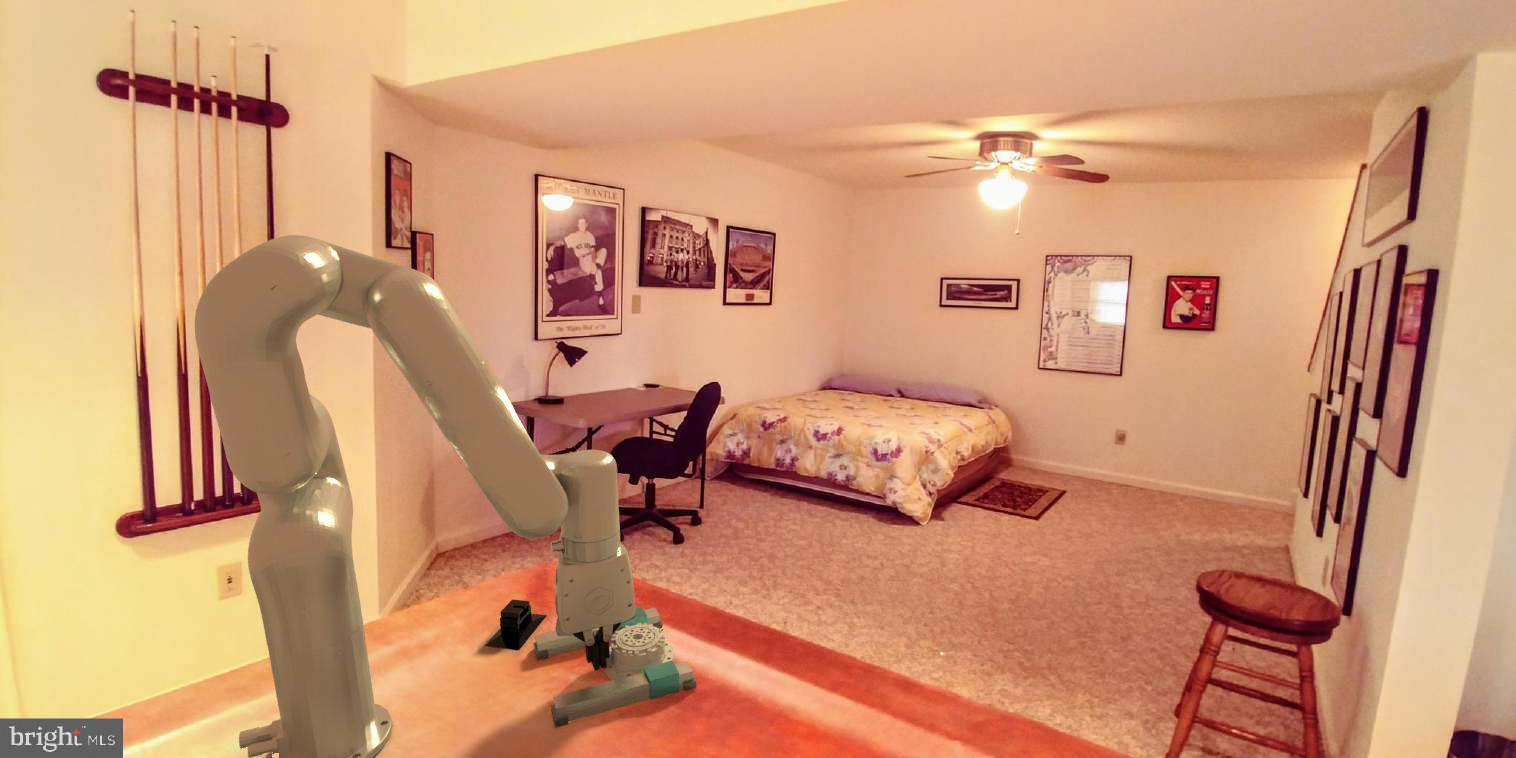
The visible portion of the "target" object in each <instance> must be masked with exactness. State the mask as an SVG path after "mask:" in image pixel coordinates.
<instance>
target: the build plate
mask: <svg viewBox="0 0 1516 758" xmlns="http://www.w3.org/2000/svg"><path fill="white" fill-rule="evenodd" d="M547 616H548V615H547V614H541V613H540V614H537V613H532V605H531V603H530V600H523V599H522V600H521V599H511V600H510V601H509V602H508V603H507V604H506V605H505V606H504V608H503V609H502V610H501V611H500V618H499V623H500V624H499V625H500V626H499V627H500V628H499V629H498V630H497V631H496V632H495V634H493V636H492V637H490V639H489V640H488V641H487V642H486V643H485V644H484V647H487V648H495V649H496V648H497V649H503V650H512V651H520V650H521V649H522V647H523V646H524V645H525V644H526V642H528V640H529V639H530V638H531V636H532V635H533V633H535V631H536V630H537V629H538V628H539V627H540V625H541V623H543V621H544V620H545V619H546V618H547Z"/></svg>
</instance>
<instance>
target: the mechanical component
mask: <svg viewBox="0 0 1516 758" xmlns="http://www.w3.org/2000/svg"><path fill="white" fill-rule="evenodd" d="M612 636H613V638H612V639H611V641H610V645H609V651H610V658H607V659H606V668H604V669H603V671H604V674H605V675H606V676H607V677H608V678H609V679H611V681H614V680H618V679H622V678H626V677H629V676H633V675H637V674H641V673H644V668H646V667H650V666H654V665H658V664H661V663H665V662H669V661H673V663H674V664H675V652H674V647H673V646H672V645H671V643H670V642H668V641H667V640H666V636H665V634H664V632H663V630H662V629H661V628H659V629H658V628H657V627H654V626H653V624H649V625H647V623H644V624H643V625H642V624H641V623H637V625H633V626H628V625H626V626H625V628H623V629H621V630H620V631H616V632H615V634H613V635H612Z"/></svg>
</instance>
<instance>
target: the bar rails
mask: <svg viewBox="0 0 1516 758" xmlns="http://www.w3.org/2000/svg"><path fill="white" fill-rule="evenodd" d="M660 618H661V617H660V613H659V611H658V610H657V608H656V607H651V608H646V609H644V608H643V606H638V607H635V618H634V619H632V620H630V621H628V622H626V623H622V624H621V625H620V626H619V627H618V628H617V630H616V631H620V630H621V629H623V628H625V626H626V625H628V626H633V625H637V623H641V624H642V625H643V624H644V623H647V625H649V624H653V626H654V627H657V628H658V629H659V628H662V627H663V628H664V626H663V622H662V620H661V619H660ZM598 630H599V628H595V629H592V632H593V633H594V635H595V634H596V632H597V631H598ZM616 631H615V632H616ZM615 632H614V633H613V634H615ZM613 634H612V635H613ZM534 637H535V642H533V644H532V645H533V651H534V654H535V658H536V661H537V662H540V661H543V660H547V659H549V658H550V657H552V656H556V655H561V654H564V653H570V652H573V651H576V650H577V651H578V650H580V649H585V642H583V641H582V640H580V639H578V638H577V637H575V636H574V635H572V636H558V635H557V633H556V630H553V631H548V632H544V633H543V632H542V633H539V634H535V636H534ZM612 638H613V636H612ZM612 638H611V639H612ZM609 643H611V640H610V641H609ZM696 688H697V680H696V679H695V677H694V671H693V669H692V667H691V666H690V664H689V662H688V661H687V660H685V661H683V662H678V663H675V662H674V663H673V661H669V662H665V663H661V664H658V665H654V666H650V667H646V668H644V673H641V674H637V675H633V676H629V677H626V678H622V679H618V680H611V681H607V682H604V683H599V684H596V685H592V686H588V687H585V688H581V689H578V690H574V691H571V692H566V693H563V694H559V695H555V696H553V697H552V704H550V712H551V717H552V720H553V721H552V722H553V724H554V728H555V729H556V728H559V727H563V726H567V725H569V723H570V722H574V721H576V720H580V719H583V718H588V717H591V716H594V715H598V714H602V713H605V712H608V711H611V710H615V709H620V708H624V707H626V706H630V705H633V704H637V703H641V702H644V701H647V700H650V701H652V700H656V699H659V698H663V697H667V696H670V695H673V694H676V693H680V692H681V691H682V690H684V692H685V691H686V692H687V691H690V690H693V689H696Z"/></svg>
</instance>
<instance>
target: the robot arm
mask: <svg viewBox="0 0 1516 758" xmlns="http://www.w3.org/2000/svg"><path fill="white" fill-rule="evenodd" d="M194 315H195V316H194V336H195V343H196V348H197V352H198V355H199V360H200V363H201V366H202V369H203V374H204V376H205V380H206V384H207V387H208V393H209V396H210V401H211V404H212V409H213V411H214V415H215V418H216V422H217V425H218V429H219V433H220V437H221V440H222V444H223V448H224V453H225V458H226V461H227V464H228V466H229V469H230V471H231V472H232V474H233V476H234V477H235V479H236V480H238V481H239V482H240V483H241V484H242V485H243V486H244V487H246V488H247V489H249V491H250V490H251V491H253V492H255V493H256V494H257V498H258V503H259V506H260V512H259V513H258V514H259V515H258V516H257V518H256V521H255V523H254V526H253V529H252V530H251V531H252V532H251V534H250V537H249V543H248V549H247V565H248V573H249V576H250V581H251V583H252V586H253V590H254V593H255V596H256V598H257V599H256V600H257V603H258V606H259V609H260V614H261V620H262V624H263V630H264V634H265V640H266V641H265V642H266V646H267V650H268V656H269V659H270V660H269V661H270V666H271V667H270V668H271V673H272V678H273V683H274V684H273V685H274V690H275V694H276V701H277V706H278V712H279V717H280V718H279V719H276V720H272V722H271V724H269V725H264V726H258V727H254V728H250V729H245V730H242V731H241V730H240V732H239V735H238V745H239V749H240V750H242V748H243V749H246V747H247V757H248V758H255V757H258V756H263V754H267V753H272V752H273V754H274V753H279V758H374V757H375V756H376V755H377V754H378V753H380V751H381V750H382V749H383V748H384V747H385V745H386V744H387V742H388V741H389V740H390V737H391V735H392V732H393V721H392V716H391V713H390V712H389V710H387V709H386V707H384V706H382V705H380V704H378V703H375V699H374V698H375V697H374V691H373V683H372V675H371V670H370V662H369V655H368V647H367V641H366V635H365V627H364V619H363V612H362V608H361V607H362V606H361V600H360V599H361V598H360V592H359V587H358V580H357V575H356V569H355V564H354V556H353V555H354V554H353V544H352V542H353V541H352V532H353V515H354V505H353V504H354V503H353V496H352V493H351V488H350V484H349V481H348V477H347V472H346V469H345V465H344V460H343V455H342V453H341V448H340V444H339V442H338V437H337V433H336V429H335V425H334V423H333V419H332V417H331V414H330V412H329V411H328V409H327V407H326V406H325V405H324V403H322V402H321V401H320V400H319V399H318V398H317V397H315V396H314V395H313V394H310V391H309V387H308V383H307V379H306V374H305V369H304V365H303V362H302V361H303V360H302V359H301V355H300V352H299V350H298V349H299V348H298V346H297V345H298V344H297V335H298V332H299V330H300V327H302V326H303V324H305V322H307V321H309V320H310V319H312V318H314V317H316V316H317V315H319V316H323V317H326V318H330V319H333V320H336V321H341V322H343V323H348V324H352V325H355V326H359V327H363V328H367V329H371V330H372V332H373V334H374V336H375V337H376V339H377V340H378V341H379V343H380V344H381V346H382V348H383V349H384V350H385V351H386V353H387V355H388V356H389V358H391V360H392V362H393V363H394V364H395V366H396V367H397V368H398V369H399V371H400V372H401V374H402V375H403V376H404V378H405V379H406V381H407V382H408V384H409V385H410V387H411V388H412V390H413V391H414V392H415V394H416V395H417V397H418V399H419V400H420V402H421V403H422V404H423V406H424V407H425V409H426V410H427V412H428V413H429V415H430V416H431V418H432V419H433V420H434V422H435V423H436V425H437V427H438V428H439V431H440V432H441V434H442V435H443V437H444V438H445V440H446V441H447V442H448V443H449V445H450V446H451V447H452V449H453V450H454V451H455V452H456V453H457V455H458V457H459V458H460V460H461V461H462V463H463V464H464V465H465V466H466V468H467V470H468V472H469V473H470V475H471V476H472V478H473V479H474V480H475V482H476V485H478V487H479V488H480V490H481V491H482V493H483V494H484V496H485V498H487V500H488V501H489V503H490V504H491V505H492V507H493V509H494V510H495V511H496V513H497V514H498V515H499V517H500V519H501V520H502V522H503V523H504V524H505V526H506V527H507V528H508V529H509V530H510V531H511V532H512V533H514V534H515V535H517V536H519V537H521V538H524V539H528V540H540V539H543V538H547V537H550V536H551V535H553V534H555V532H557V531H558V530H559V529H561V532H560V536H559V539H556V540H554V541H550V549H551V552H552V553H554V552H555V553H556V552H558V557H557V561H556V562H557V563H556V571H555V587H554V588H555V590H554V591H555V592H554V596H555V597H554V599H555V602H554V603H555V613H556V616H557V618H556V623H555V624H556V625H555V628H554V629H555V630H556V633H557V635H558V636H572V635H574V636H575V637H577V638H578V639H580V640H582V641H583V642H585V648H584V649H585V658H586V659H585V660H586V661H587V664H590V663H591V665H592V668H593V670H594V672H597V671H599V670H600V669H602V670H604V668H606V659H607V658H610V651H609V647H610V642H611V641H610V640H611V638H612V634H613V633H614V632H615V631H616V630H617V628H618V627H619V626H620V625H621V624H622V623H626V622H628V621H630V620H632V619H634V618H635V608H636V597H635V588H634V579H633V572H632V567H631V562H630V558H629V553H628V550H627V548H626V547H625V545H624V544H622V543H621V531H620V530H621V529H620V527H621V526H620V510H619V509H620V508H619V507H620V506H619V487H618V486H619V484H618V483H619V482H618V467H617V462H616V459H615V458H614V457H613V455H612V454H611V453H609V452H606V451H603V450H599V449H582V450H578V451H574V452H571V453H568V454H541V453H540V451H539V450H538V448H537V447H536V444H535V443H534V442H533V440H532V438H531V437H530V435H529V434H528V432H527V430H526V428H525V426H524V425H523V423H522V422H521V419H520V418H519V416H518V414H517V412H516V410H515V408H514V405H513V404H512V402H511V399H510V397H509V395H508V393H507V391H506V389H505V388H504V386H503V384H502V383H501V380H500V379H499V378H498V376H497V374H496V372H495V371H494V370H493V368H492V367H491V365H490V364H489V362H488V361H487V359H486V357H485V356H484V354H483V353H482V351H481V350H480V348H479V347H478V345H477V343H476V342H475V340H474V339H473V337H472V335H471V334H470V333H469V331H468V329H467V328H466V326H465V324H464V323H463V322H462V320H461V319H460V317H459V315H458V314H457V312H456V310H455V309H454V307H453V306H452V304H451V303H450V301H449V300H448V298H447V296H446V295H445V293H444V292H443V290H442V289H441V287H440V286H439V284H438V283H437V282H436V281H435V280H434V279H433V278H432V277H431V276H429V275H427V274H426V273H425V272H422V271H420V270H417V269H414V268H411V267H407V266H404V265H400V264H398V263H397V264H396V263H393V262H390V261H387V260H383V259H380V258H376V257H374V256H370V255H368V254H365V253H361V252H359V251H355V250H352V249H349V248H346V247H342V246H340V245H337V244H334V243H331V242H328V241H324V240H321V239H319V238H318V239H317V238H315V237H311V236H308V235H306V236H305V235H299V234H291V235H290V234H289V235H282V236H279V237H276V238H271V239H269V240H267V241H264V242H262V243H260V244H258V245H256V246H254V247H252V248H250V249H249V250H247V251H245V252H243V253H242V254H240V255H239V256H237V257H235V258H234V259H233V260H231V261H230V262H229V263H228V264H226V265H225V266H224V267H222V269H220V270H219V271H218V272H217V273H216V274H215V275H214V276H213V277H212V279H210V281H209V282H208V283H207V285H206V286H205V287H204V290H203V291H202V293H201V295H200V298H199V299H198V303H197V305H196V310H195V314H194ZM595 628H599V630H598V631H597V632H596V634H595V635H594V633H593V632H592V629H595ZM555 630H554V631H555ZM609 641H610V642H609Z"/></svg>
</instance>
